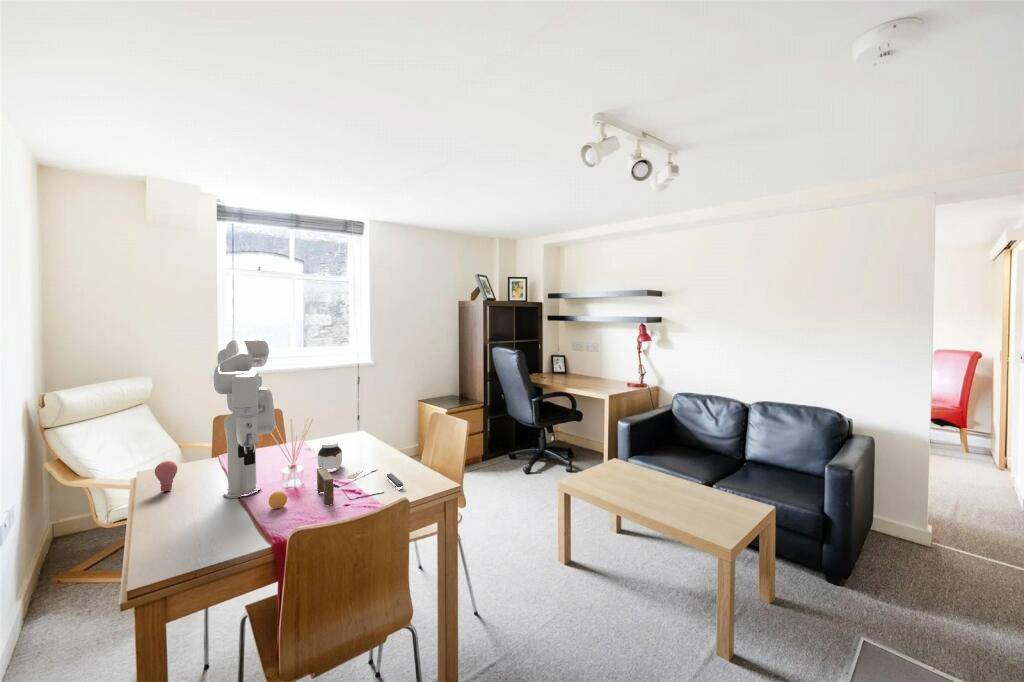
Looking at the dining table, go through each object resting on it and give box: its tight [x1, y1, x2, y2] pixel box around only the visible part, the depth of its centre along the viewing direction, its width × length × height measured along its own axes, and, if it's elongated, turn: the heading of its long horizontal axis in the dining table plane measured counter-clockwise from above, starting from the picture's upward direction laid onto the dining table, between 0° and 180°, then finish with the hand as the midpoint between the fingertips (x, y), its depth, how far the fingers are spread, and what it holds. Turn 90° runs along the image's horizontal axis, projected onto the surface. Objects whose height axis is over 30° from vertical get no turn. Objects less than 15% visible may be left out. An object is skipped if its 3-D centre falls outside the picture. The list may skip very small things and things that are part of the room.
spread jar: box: [317, 440, 343, 470], centre depth 204 cm, size 12×11×12 cm
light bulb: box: [154, 460, 178, 493], centre depth 177 cm, size 7×7×12 cm
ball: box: [268, 490, 288, 509], centre depth 162 cm, size 6×6×6 cm
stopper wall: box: [386, 473, 404, 487], centre depth 186 cm, size 14×2×2 cm, turn 33°
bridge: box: [316, 467, 335, 506], centre depth 171 cm, size 3×15×10 cm, turn 33°
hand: (246, 460), depth 153 cm, fingers open, 9 cm apart
